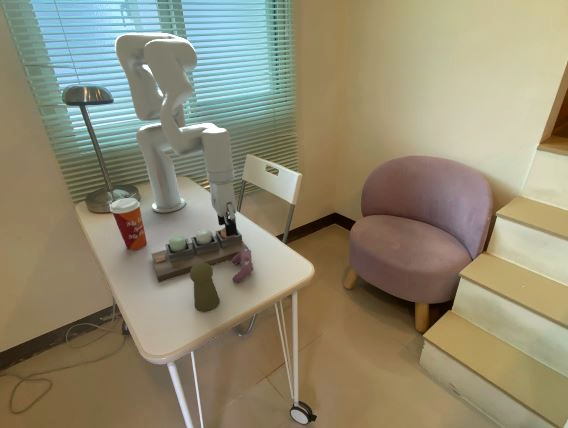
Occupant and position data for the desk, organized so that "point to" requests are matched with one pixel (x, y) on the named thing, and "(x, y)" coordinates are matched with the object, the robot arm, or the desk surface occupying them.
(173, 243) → the pale green egg
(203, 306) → the olive green skittle
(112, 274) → the desk surface
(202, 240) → the white egg
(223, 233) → the brown egg
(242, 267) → the video game controller
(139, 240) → the coffee cup
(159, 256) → the board
